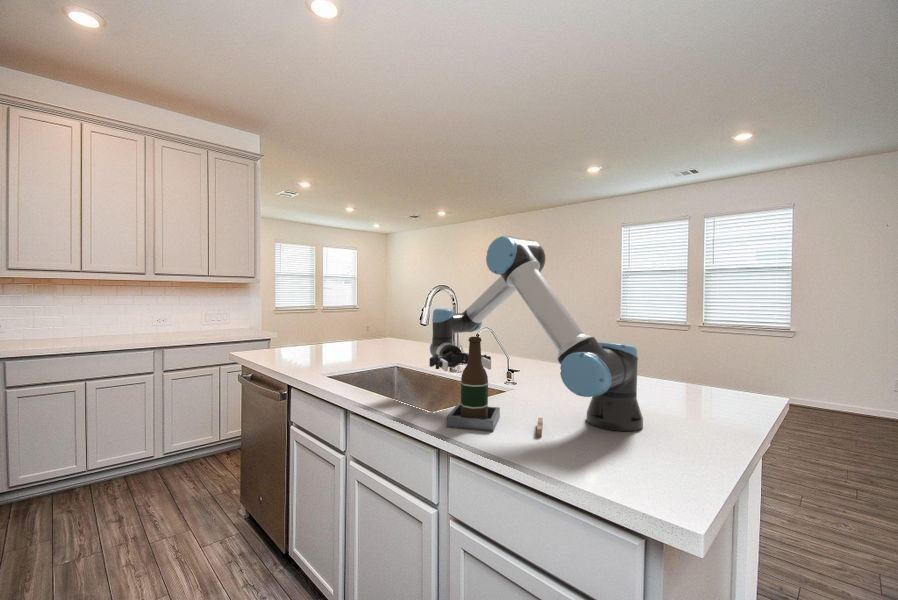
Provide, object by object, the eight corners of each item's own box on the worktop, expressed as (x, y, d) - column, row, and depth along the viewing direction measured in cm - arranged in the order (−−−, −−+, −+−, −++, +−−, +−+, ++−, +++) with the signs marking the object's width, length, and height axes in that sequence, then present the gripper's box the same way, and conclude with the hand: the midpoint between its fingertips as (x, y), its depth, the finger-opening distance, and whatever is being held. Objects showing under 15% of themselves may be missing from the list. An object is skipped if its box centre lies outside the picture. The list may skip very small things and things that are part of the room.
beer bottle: (486, 425, 112) (487, 339, 111) (458, 423, 113) (459, 338, 113) (488, 417, 119) (489, 336, 119) (462, 415, 121) (463, 335, 120)
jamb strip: (538, 424, 114) (538, 417, 114) (542, 425, 114) (542, 418, 114) (536, 436, 105) (536, 429, 105) (541, 437, 104) (541, 429, 104)
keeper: (499, 417, 121) (499, 407, 121) (493, 431, 108) (493, 420, 108) (457, 413, 124) (457, 404, 124) (446, 427, 111) (446, 416, 111)
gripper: (482, 364, 144) (507, 376, 124) (413, 366, 137) (427, 380, 117) (483, 343, 144) (507, 352, 124) (414, 344, 137) (427, 354, 117)
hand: (468, 365), depth 120 cm, fingers open, 13 cm apart
